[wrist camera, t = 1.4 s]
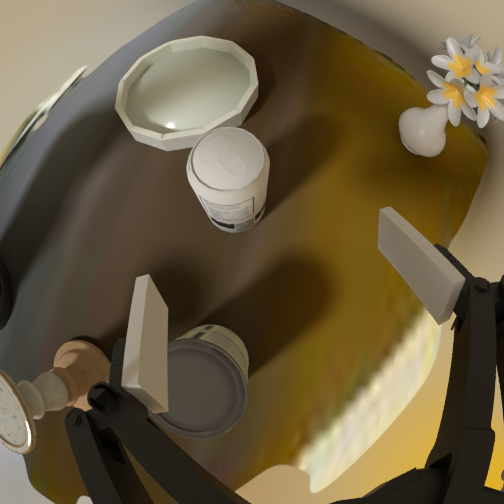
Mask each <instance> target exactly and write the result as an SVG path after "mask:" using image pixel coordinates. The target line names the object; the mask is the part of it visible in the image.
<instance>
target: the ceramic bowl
mask: <svg viewBox="0 0 504 504" xmlns="http://www.w3.org/2000/svg"><path fill="white" fill-rule="evenodd" d="M257 98H258V79H257V73H256V67H255V61H254V58H253V57H252V56H250V55H249V54H248V53H247V52H246V51H244V50H243V49H242V48H241V47H239V46H238V45H237V44H236V43H234V42H233V41H228V40H223V39H218V38H213V37H207V36H197V37H191V38H185V39H179V40H174V41H169V42H167V43H165V44H163V45H162V46H160V47H158V48H156V49H154V50H152V51H151V52H149V53H147V54H145V55H144V56H142V57H140V58H139V59H138V60H137V61H136V63H135V64H134V65H133V66H132V67H131V68H130V70H129V71H128V72H127V73H126V74H125V76H124V77H123V78H122V79H121V81H120V83H119V88H118V93H117V98H116V103H115V109H116V111H117V112H118V114H119V116H120V117H121V119H122V121H123V122H124V124H125V125H126V127H127V129H128V130H129V132H130V133H131V134H132V136H133V137H134V138H135V140H136V141H139V142H142V143H145V144H148V145H151V146H154V147H157V148H160V149H163V150H165V151H171V150H177V149H183V148H190V147H194V146H195V144H196V142H197V141H198V140H199V139H200V138H201V137H202V136H204V135H205V134H206V133H207V132H210V131H212V130H215V129H217V128H222V127H235V128H236V127H238V126H240V125H241V124H242V123H243V121H244V119H245V118H246V116H247V114H248V113H249V111H250V109H251V108H252V106H253V104H254V103H255V101H256V99H257Z"/></svg>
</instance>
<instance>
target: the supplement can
mask: <svg viewBox="0 0 504 504" xmlns="http://www.w3.org/2000/svg"><path fill="white" fill-rule="evenodd" d="M269 167H270V160H269V157H268V153H267V150H266V148H265V147H264V146H263V145H262V144H261V142H260V141H259V140H258V139H257V138H255V136H254V135H252V134H251V133H249V132H247V131H246V130H244V129H240V128H235V127H222V128H217V129H215V130H212V131H210V132H207V133H206V134H205V135H204V136H202V137H201V138H200V139H199V140H198V141H197V142H196V144H195V146H194V147H193V149H192V151H191V153H190V155H189V158H188V163H187V168H186V169H187V174H188V180H189V182H190V184H191V186H192V188H193V190H194V191H195V193H196V195H197V197H198V199H199V200H200V202H201V204H202V206H203V208H204V209H205V211H206V213H207V215H208V216H209V218H210V219H211V221H212V223H213V224H214V225H216V226H217V227H218V228H220V229H221V230H224V231H228V232H231V233H234V232H243V231H246V230H248V229H250V228H252V227H253V226H254V225H255V224H257V223H258V222H259V221H260V219H261V217H262V215H263V213H264V209H265V201H266V192H267V184H268V176H269Z"/></svg>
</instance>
